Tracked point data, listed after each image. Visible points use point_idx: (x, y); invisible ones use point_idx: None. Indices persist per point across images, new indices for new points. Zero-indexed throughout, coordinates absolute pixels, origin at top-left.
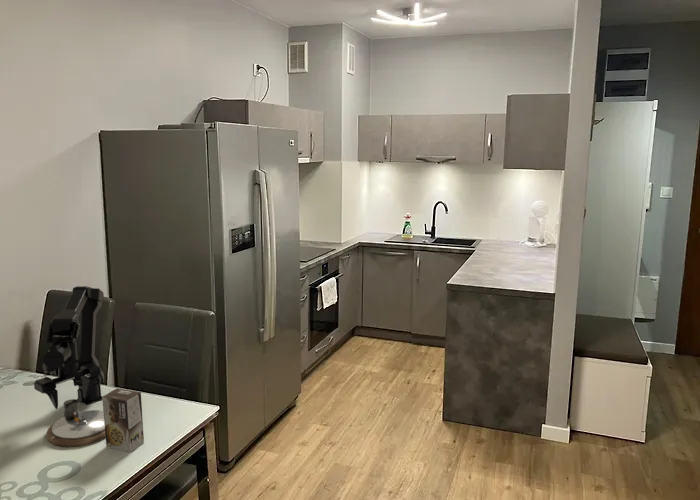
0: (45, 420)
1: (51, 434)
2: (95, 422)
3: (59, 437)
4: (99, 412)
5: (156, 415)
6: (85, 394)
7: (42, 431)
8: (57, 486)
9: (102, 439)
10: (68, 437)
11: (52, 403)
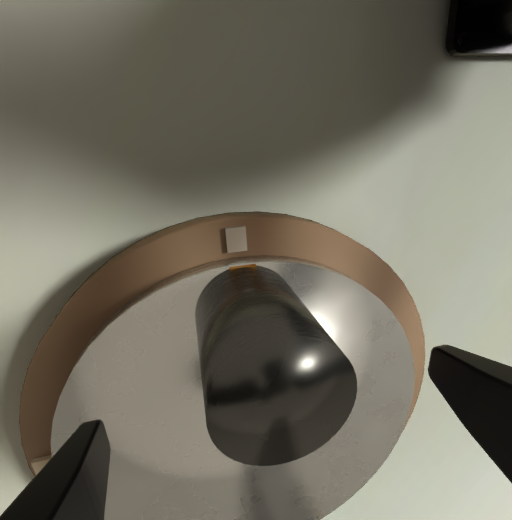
0: (102, 53)
1: (51, 416)
2: (305, 463)
3: None
4: (390, 362)
5: None
6: (466, 426)
7: (30, 247)
8: None
9: None
10: None
11: (27, 486)
